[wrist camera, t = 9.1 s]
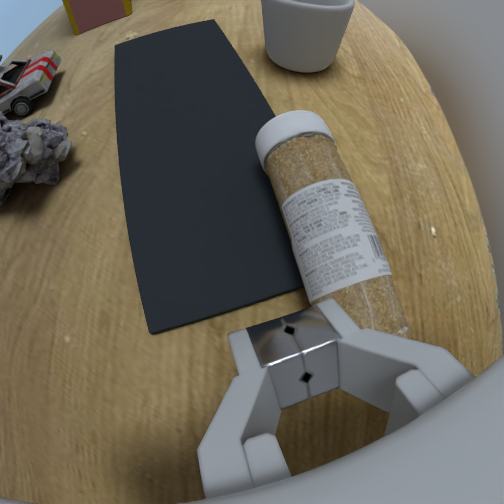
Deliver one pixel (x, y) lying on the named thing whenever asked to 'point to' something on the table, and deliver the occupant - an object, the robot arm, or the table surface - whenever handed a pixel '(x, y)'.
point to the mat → (196, 178)
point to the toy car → (26, 82)
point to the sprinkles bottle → (328, 222)
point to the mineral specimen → (30, 152)
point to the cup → (304, 31)
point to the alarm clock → (95, 12)
